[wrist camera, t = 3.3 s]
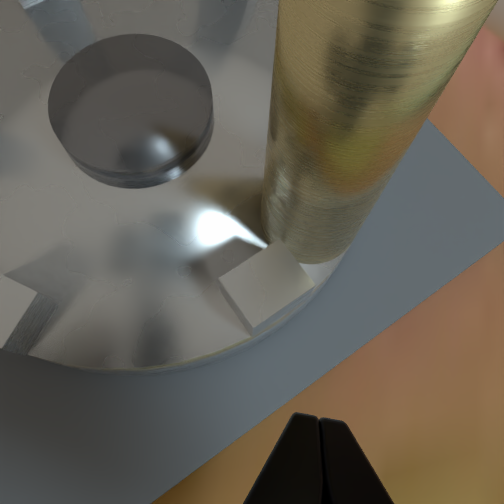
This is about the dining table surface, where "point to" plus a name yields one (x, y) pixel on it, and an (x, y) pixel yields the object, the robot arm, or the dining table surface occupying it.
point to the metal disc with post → (198, 163)
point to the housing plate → (243, 352)
